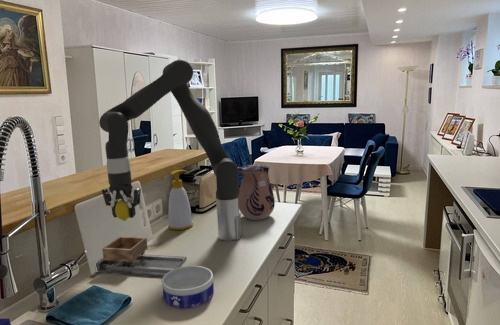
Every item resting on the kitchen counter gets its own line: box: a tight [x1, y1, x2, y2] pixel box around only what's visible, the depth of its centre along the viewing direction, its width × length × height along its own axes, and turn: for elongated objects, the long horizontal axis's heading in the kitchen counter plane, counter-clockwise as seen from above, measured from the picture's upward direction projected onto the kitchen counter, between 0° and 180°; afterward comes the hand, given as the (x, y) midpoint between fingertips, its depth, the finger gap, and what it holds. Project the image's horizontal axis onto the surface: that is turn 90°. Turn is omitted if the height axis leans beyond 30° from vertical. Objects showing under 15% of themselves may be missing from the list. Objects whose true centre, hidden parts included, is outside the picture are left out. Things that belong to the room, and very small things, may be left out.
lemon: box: [115, 199, 130, 222], centre depth 131 cm, size 6×6×8 cm
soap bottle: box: [167, 169, 194, 231], centre depth 170 cm, size 11×12×26 cm
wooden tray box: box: [101, 236, 149, 266], centre depth 134 cm, size 11×11×6 cm
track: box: [95, 253, 187, 278], centre depth 133 cm, size 28×14×3 cm, turn 78°
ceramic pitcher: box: [237, 163, 275, 221], centre depth 178 cm, size 18×21×25 cm
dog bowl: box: [161, 265, 215, 310], centre depth 112 cm, size 15×15×6 cm
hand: (124, 216), depth 131 cm, fingers closed on lemon, 5 cm apart
